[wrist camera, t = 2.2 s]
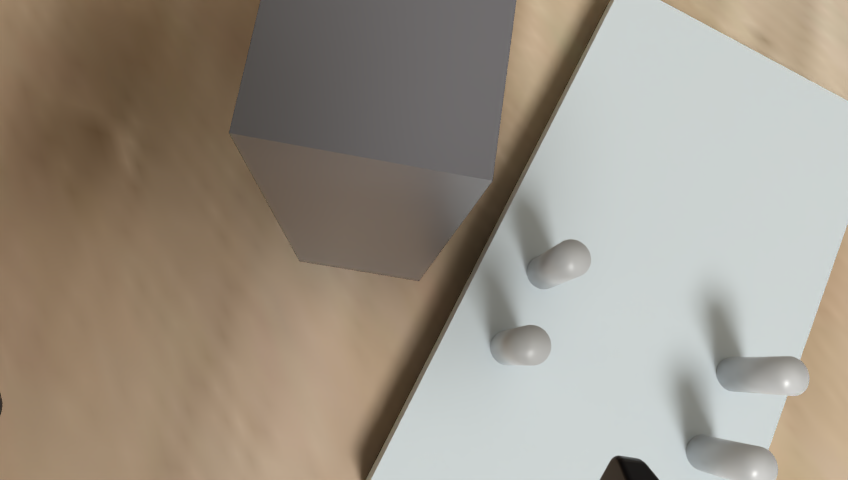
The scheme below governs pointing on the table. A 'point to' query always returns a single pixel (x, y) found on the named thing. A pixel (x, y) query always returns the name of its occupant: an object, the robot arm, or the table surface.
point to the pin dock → (642, 271)
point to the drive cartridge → (373, 123)
